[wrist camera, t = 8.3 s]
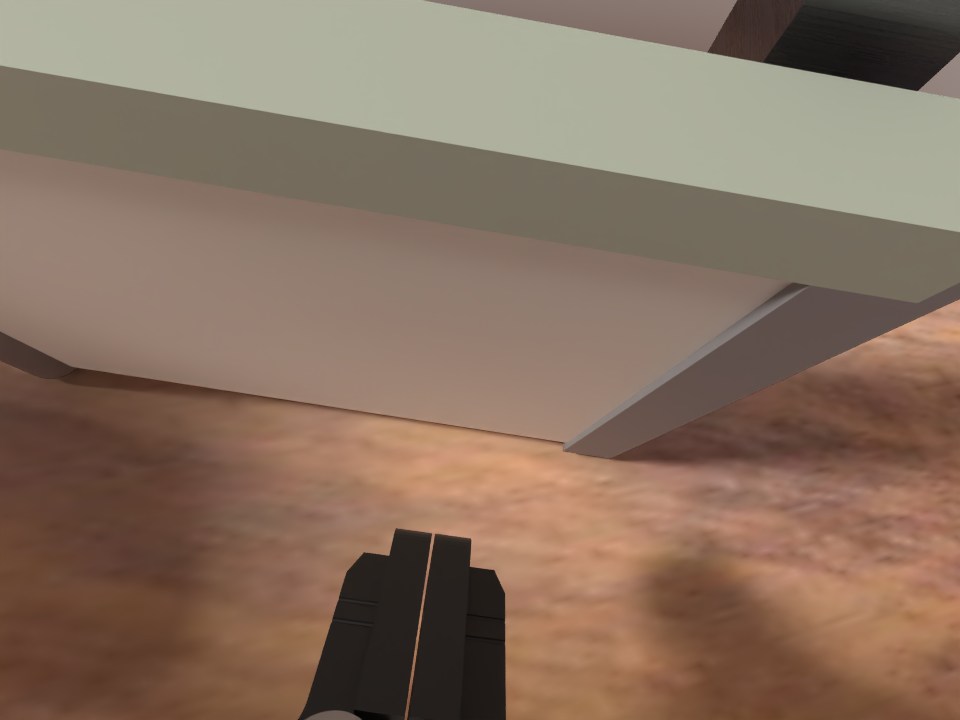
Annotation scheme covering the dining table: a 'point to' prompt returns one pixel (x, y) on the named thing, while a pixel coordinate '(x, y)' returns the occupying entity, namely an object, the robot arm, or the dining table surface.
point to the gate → (452, 211)
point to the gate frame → (846, 37)
